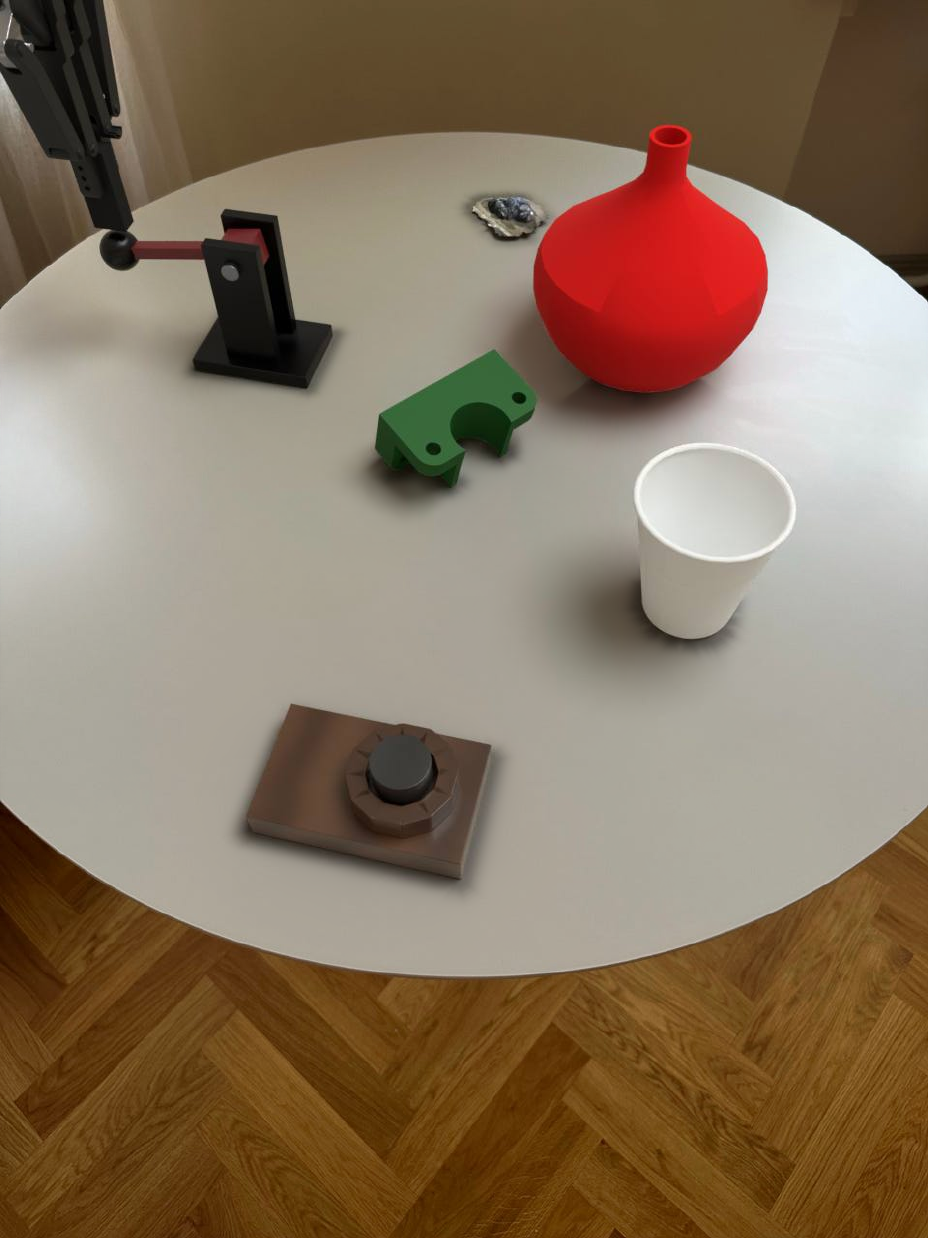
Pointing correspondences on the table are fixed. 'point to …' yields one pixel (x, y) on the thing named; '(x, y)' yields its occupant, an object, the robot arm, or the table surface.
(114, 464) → the table surface
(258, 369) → the black bracket
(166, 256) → the ball knob lever
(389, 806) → the button block
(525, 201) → the grey flat irregular piece
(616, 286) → the vase
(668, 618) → the cup
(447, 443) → the clamp
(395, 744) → the button
